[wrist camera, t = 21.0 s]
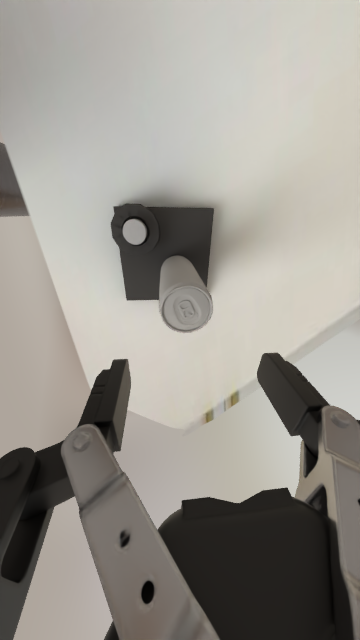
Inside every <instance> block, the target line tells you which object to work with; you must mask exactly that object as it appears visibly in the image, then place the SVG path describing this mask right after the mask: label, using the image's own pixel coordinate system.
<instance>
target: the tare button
mask: <svg viewBox="0 0 360 640" xmlns="http://www.w3.org/2000/svg"><path fill="white" fill-rule="evenodd" d="M123 235H124V238H125V239H126V240H127V241H128V242H129V243H131V244H134V245H138V244H141V243H142V242H143V241H144V240H145V238H146V236H147V228H146V226H145V224H144V223H143V222H142V221H141V220H138V219H131V220H128V221H127V222H126V223H125V224H124V226H123Z"/></svg>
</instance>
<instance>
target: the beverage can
mask: <svg viewBox="0 0 360 640" xmlns="http://www.w3.org/2000/svg"><path fill="white" fill-rule="evenodd" d="M159 311H160V314H161V317H162V319H163V321H164V323H165V324H166V325H167V326H168V327H169V328H171V329H172V330H174V331H177V332H182V333H189V332H194V331H197V330H199V329H200V328H202V327H203V326H204V325H206V324H207V322H208V321H209V320H210V318H211V315H212V313H213V304H212V298H211V295H210V293H209V291H208V290H207V288H206V286H205V285H204V283H203V281H202V280H201V278H200V277H199V275H198V273H197V272H196V270H195V268H194V266H193V265H192V263H191V262H190V261H189V260H188V259H186V258H185V257H183V256H179V255H177V256H172V257H169V258H168V259H166V260H165V262H164V263H163V265H162V267H161V274H160V288H159Z"/></svg>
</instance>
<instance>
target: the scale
mask: <svg viewBox="0 0 360 640" xmlns="http://www.w3.org/2000/svg"><path fill="white" fill-rule="evenodd" d="M213 212H214V208H166V207H144V206H143V205H141V204H125V205H124V206H123V207H114V213H115V214H114V217H113V219H112V222H111V229H112V236H113V239H114V240H115V242H116V243H117V245H118V246H119V249H120V256H121V263H122V270H123V277H124V284H125V291H126V298H127V300H159V288H160V274H161V267H162V265H163V263H164V262H165V260H166V259H168V258H169V257H172V256H177V255H179V256H183V257H185V258H186V259H188V260H189V261H190V262H191V263H192V265H193V266H194V268H195V270H196V272H197V273H198V275H199V277H200V278H201V280H202V281H203V283H204V285H205V286H206V288H207V278H208V267H209V256H210V245H211V234H212V223H213ZM131 219H138V220H141V221H142V222H143V223H144V224H145V226H146V228H147V236H146V238H145V240H144V241H143V242H142V243H141V244H138V245H134V244H131V243H129V242H128V241H127V240H126V239H125V238H124V235H123V226H124V224H125V223H126V222H127V221H128V220H131Z"/></svg>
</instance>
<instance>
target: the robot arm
mask: <svg viewBox="0 0 360 640" xmlns="http://www.w3.org/2000/svg"><path fill="white" fill-rule="evenodd" d="M257 378H258V381H259V383H260V385H261V387H262V388H263V390H264V392H265V393H266V395H267V397H268V398H269V400H270V402H271V403H272V405H273V407H274V408H275V410H276V412H277V413H278V415H279V417H280V419H281V420H282V422H283V424H284V425H285V427H286V429H287V430H288V432H289V434H290V435H291V436H296V435H300V436H301V438H302V439H303V440H302V442H301V452H300V477H299V484H298V488H297V490H296V494H295V498H294V497H292V496H291V494H290V492H289V490H288V488H281V489H272V490H264V491H261V492H260V493H257V494H256V495H254V496H252V497H250V498H249V499H247V500H245V501H243V502H241V503H233V502H228V501H224V500H219V499H215V498H210V497H207V498H198V499H190V500H183V501H182V506H181V509H179V510H177V511H176V512H174V513H173V514H172V515H170V516H169V517H168V518H167V519H166V520H165V521H164V522H163V523H162V525H161V526H160V527H159V529H158V530H157V529H156V527H155V525H154V523H153V522H152V520H151V518H150V516H149V514H148V513H147V511H146V509H145V507H144V506H143V504H142V502H141V500H140V498H139V496H138V495H137V493H136V491H135V489H134V487H133V486H132V484H131V482H130V480H129V478H128V477H127V475H126V474H125V473H124V472H123V471H122V470H121V468H120V467H119V464H118V462H117V461H116V459H115V457H114V455H113V452H115V451H120V450H121V444H122V438H123V432H124V426H125V419H126V413H127V407H128V401H129V395H130V389H131V377H130V371H129V364H128V359H118V360H113V362H112V365H111V368H110V369H108V370H103V371H102V372H101V373H100V374H99V375H98V376H97V377H96V380H95V383H94V385H93V388H92V390H91V394H90V396H89V399H88V401H87V404H86V406H85V409H84V412H83V414H82V417H81V419H80V422H79V424H78V426H77V428H76V429H74V430H73V431H72V432H71V433H70V434H69V435H68V436H67V437H66V438H65V440H63V441H62V442H60V443H58V444H55V445H53V446H51V447H48V448H45V449H43V450H40V451H37V452H34V451H33V450H32V449H30V448H25V447H24V448H18V449H16V450H13V451H11V452H9V453H7V454H6V455H4V456H3V457H2V458H1V459H0V640H13V638H14V634H15V632H16V628H17V625H18V622H19V619H20V616H21V612H22V609H23V606H24V603H25V599H26V596H27V593H28V590H29V587H30V583H31V580H32V577H33V574H34V571H35V567H36V564H37V561H38V558H39V554H40V551H41V548H42V545H43V542H44V538H45V535H46V532H47V529H48V525H49V522H50V519H51V516H52V513H53V509H54V506H56V505H58V504H60V503H62V502H64V501H66V500H68V499H70V498H72V497H74V496H75V497H76V500H77V503H78V506H79V514H80V519H81V523H82V525H83V529H84V532H85V535H86V538H87V541H88V544H89V547H90V550H91V554H92V556H93V559H94V563H95V566H96V569H97V572H98V575H99V578H100V581H101V584H102V587H103V590H104V593H105V597H106V600H107V602H108V606H109V609H110V612H111V615H112V618H113V622H112V624H111V626H110V628H109V630H108V632H107V634H106V636H105V639H104V640H360V420H356V419H355V418H354V417H353V416H352V415H350V414H349V413H348V412H346V411H344V410H343V409H341V408H338V407H335V406H330V405H329V404H328V402H327V401H326V400H325V399H324V398H323V397H322V396H321V395H320V393H318V391H317V390H316V389H315V388H314V387H313V386H312V385H311V383H310V382H308V380H307V379H306V378H305V377H304V376H303V375H302V373H301V372H300V371H299V370H298V369H297V368H296V367H295V366H294V365H292V364H291V363H289V362H288V361H285V360H284V359H283V358H282V357H281V355H280V354H278V353H264V354H263V355H262V358H261V361H260V365H259V368H258V371H257Z"/></svg>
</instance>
